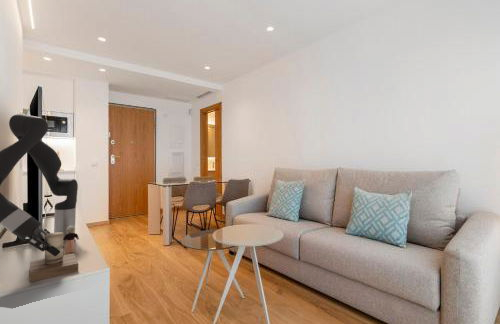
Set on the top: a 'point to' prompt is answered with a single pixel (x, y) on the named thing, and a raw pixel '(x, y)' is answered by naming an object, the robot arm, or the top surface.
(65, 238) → the grandmother figurine
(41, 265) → the walnut board
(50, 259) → the beech peg
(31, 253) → the top surface
